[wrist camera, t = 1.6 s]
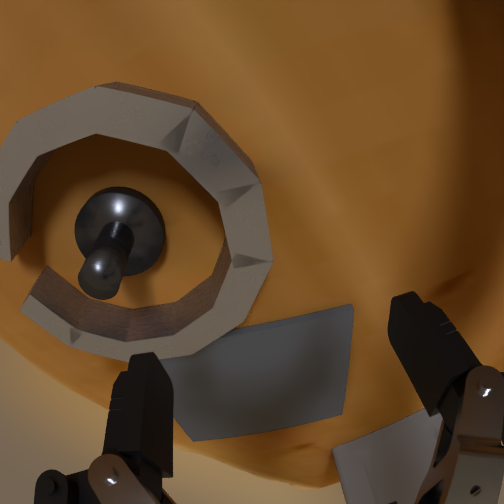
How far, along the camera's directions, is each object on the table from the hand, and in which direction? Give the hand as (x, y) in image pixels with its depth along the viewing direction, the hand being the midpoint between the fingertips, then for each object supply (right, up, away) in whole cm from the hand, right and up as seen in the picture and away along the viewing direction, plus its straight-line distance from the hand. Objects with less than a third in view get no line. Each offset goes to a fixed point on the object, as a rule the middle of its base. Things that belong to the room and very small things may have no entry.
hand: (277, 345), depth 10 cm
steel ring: (-8, +4, +7) cm, 12 cm away
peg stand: (-8, +4, +7) cm, 12 cm away
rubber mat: (-1, -9, +17) cm, 20 cm away
